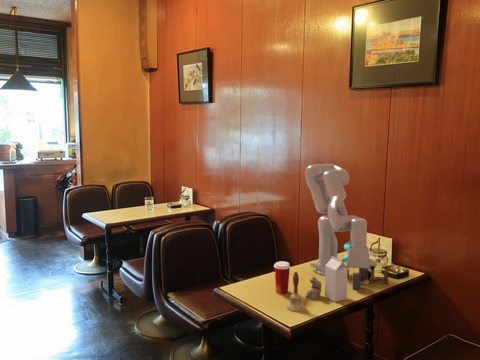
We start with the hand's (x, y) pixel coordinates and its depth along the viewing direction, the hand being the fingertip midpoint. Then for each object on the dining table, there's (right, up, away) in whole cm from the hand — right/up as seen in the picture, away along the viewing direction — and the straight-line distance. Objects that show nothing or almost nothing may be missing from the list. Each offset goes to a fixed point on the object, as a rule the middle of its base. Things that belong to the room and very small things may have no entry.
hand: (358, 278), depth 188 cm
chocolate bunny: (-23, -7, -8) cm, 26 cm away
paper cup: (-37, -6, -3) cm, 38 cm away
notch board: (+11, -4, +10) cm, 15 cm away
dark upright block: (0, -5, +2) cm, 5 cm away
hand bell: (-33, -8, -19) cm, 39 cm away
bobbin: (+4, -4, +9) cm, 11 cm away
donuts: (+9, 0, +40) cm, 41 cm away
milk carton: (-13, -7, -10) cm, 18 cm away
